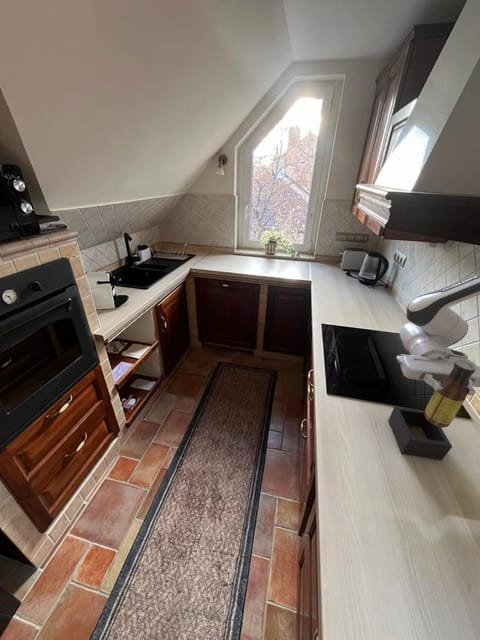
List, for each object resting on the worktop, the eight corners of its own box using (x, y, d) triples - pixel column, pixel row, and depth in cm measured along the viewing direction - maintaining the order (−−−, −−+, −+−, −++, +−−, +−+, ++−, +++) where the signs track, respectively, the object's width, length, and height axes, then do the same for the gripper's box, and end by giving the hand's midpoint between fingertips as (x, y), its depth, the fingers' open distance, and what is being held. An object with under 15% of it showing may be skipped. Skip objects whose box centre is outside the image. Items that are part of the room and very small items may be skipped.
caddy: (423, 425, 86) (431, 411, 83) (441, 460, 76) (452, 446, 72) (387, 420, 88) (394, 406, 84) (401, 453, 77) (409, 439, 74)
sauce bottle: (453, 424, 71) (491, 371, 61) (439, 431, 69) (475, 377, 59) (431, 407, 76) (462, 355, 66) (416, 413, 74) (446, 360, 64)
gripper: (397, 345, 78) (417, 377, 66) (471, 353, 75) (505, 387, 63) (391, 361, 81) (408, 394, 69) (462, 370, 78) (492, 405, 66)
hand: (455, 391), depth 66 cm, fingers closed on sauce bottle, 6 cm apart
